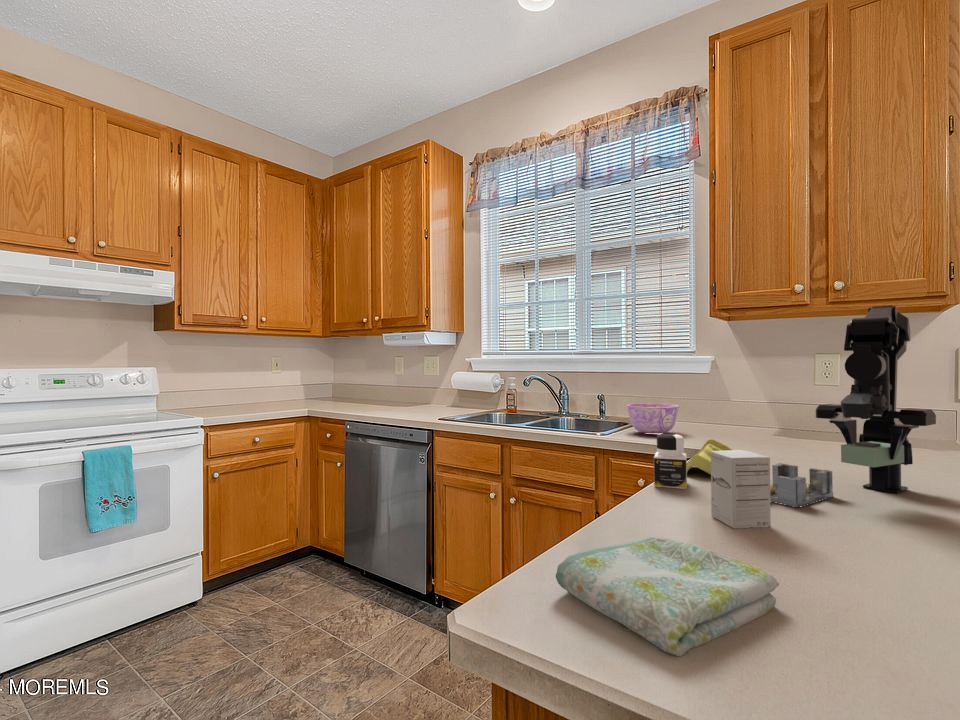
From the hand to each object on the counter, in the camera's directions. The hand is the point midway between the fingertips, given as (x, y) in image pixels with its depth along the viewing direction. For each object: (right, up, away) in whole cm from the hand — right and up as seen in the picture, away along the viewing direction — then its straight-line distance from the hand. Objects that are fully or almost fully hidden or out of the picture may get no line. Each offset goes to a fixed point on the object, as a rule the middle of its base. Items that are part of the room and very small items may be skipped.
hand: (872, 457), depth 104 cm
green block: (0, -1, 0) cm, 1 cm away
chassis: (-13, -10, +7) cm, 18 cm away
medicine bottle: (-34, -11, +19) cm, 40 cm away
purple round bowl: (-9, -11, +104) cm, 105 cm away
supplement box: (-32, -10, -10) cm, 35 cm away
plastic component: (-17, -11, +34) cm, 39 cm away
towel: (-56, -11, -40) cm, 70 cm away
